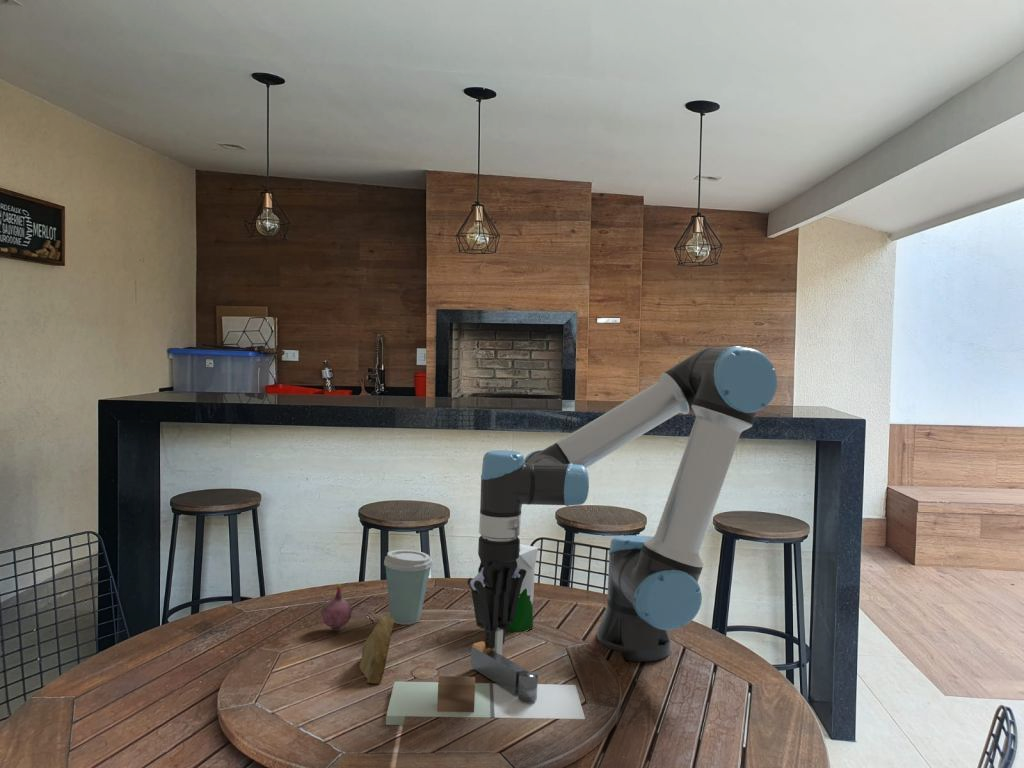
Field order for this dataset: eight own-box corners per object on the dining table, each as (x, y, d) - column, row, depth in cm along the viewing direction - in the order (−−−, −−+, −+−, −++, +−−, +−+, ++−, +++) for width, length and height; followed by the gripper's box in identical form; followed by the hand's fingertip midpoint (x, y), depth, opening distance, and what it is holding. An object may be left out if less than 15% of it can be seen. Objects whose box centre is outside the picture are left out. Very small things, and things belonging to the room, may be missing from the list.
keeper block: (474, 703, 123) (475, 676, 123) (474, 712, 120) (475, 685, 120) (438, 702, 123) (439, 676, 123) (437, 711, 120) (438, 684, 120)
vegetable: (355, 633, 155) (357, 586, 154) (327, 638, 151) (328, 590, 151) (344, 623, 160) (346, 578, 159) (316, 628, 156) (318, 582, 156)
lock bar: (540, 699, 125) (541, 672, 125) (526, 704, 123) (527, 677, 123) (482, 663, 138) (483, 639, 138) (468, 667, 136) (469, 643, 136)
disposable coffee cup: (405, 607, 171) (407, 543, 170) (440, 619, 164) (443, 552, 163) (371, 620, 162) (373, 553, 161) (407, 633, 156) (409, 563, 155)
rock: (393, 677, 130) (415, 648, 140) (365, 637, 130) (389, 610, 140) (349, 702, 134) (374, 672, 143) (322, 663, 134) (349, 636, 143)
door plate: (574, 693, 132) (575, 684, 132) (584, 727, 120) (585, 718, 120) (394, 689, 130) (394, 681, 130) (386, 724, 118) (386, 715, 118)
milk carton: (482, 630, 159) (486, 538, 158) (505, 618, 166) (509, 530, 165) (517, 641, 154) (521, 546, 153) (539, 628, 162) (543, 537, 161)
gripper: (487, 546, 127) (481, 680, 128) (538, 535, 136) (532, 660, 138) (458, 537, 133) (453, 665, 134) (510, 527, 142) (504, 647, 143)
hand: (493, 663), depth 136 cm, fingers closed
